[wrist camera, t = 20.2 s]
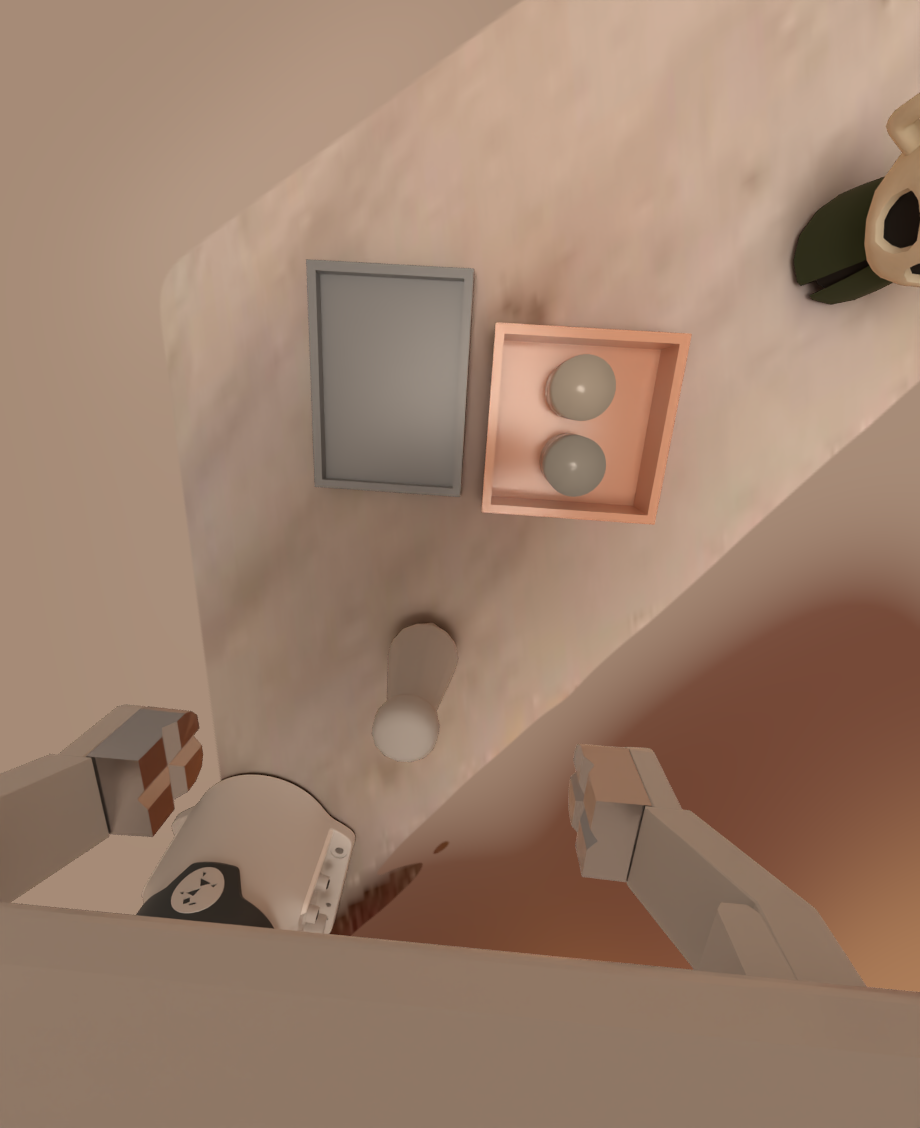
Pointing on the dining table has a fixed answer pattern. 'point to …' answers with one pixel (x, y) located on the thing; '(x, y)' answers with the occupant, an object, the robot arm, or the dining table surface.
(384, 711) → the salt shaker
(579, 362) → the pebble
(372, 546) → the dining table surface
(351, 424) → the tray
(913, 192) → the character mug
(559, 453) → the pebble
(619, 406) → the open box
